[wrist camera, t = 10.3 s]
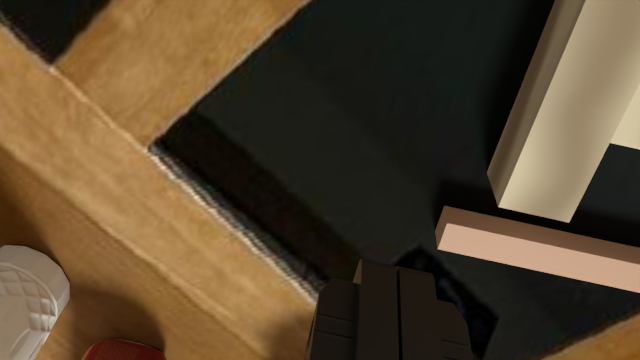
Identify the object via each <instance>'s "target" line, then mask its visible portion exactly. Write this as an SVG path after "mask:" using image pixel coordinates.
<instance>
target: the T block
mask: <svg viewBox="0 0 640 360" xmlns="http://www.w3.org/2000/svg"><path fill="white" fill-rule="evenodd" d="M609 143H613V144H618V145H622V146H627V147H631V148H636V149H640V0H555V2H554V4H553V7H552V9H551V12H550V14H549V17H548V19H547V22H546V24H545V27H544V30H543V32H542V35H541V37H540V40H539V42H538V45H537V47H536V50H535V52H534V55H533V57H532V60H531V62H530V65H529V67H528V70H527V72H526V75H525V77H524V80H523V82H522V85H521V88H520V90H519V93H518V95H517V98H516V100H515V103H514V105H513V108H512V110H511V113H510V115H509V118H508V120H507V123H506V125H505V128H504V130H503V133H502V135H501V138H500V140H499V143H498V146H497V148H496V151H495V153H494V156H493V158H492V161H491V163H490V166H489V168H488V171H487V174H488V177H489V180H490V183H491V187H492V190H493V193H494V196H495V199H496V202H497V205H498V207H500V208H505V209H509V210H514V211H519V212H523V213H528V214H532V215H537V216H541V217H546V218H550V219H555V220H559V221H564V222H568V223H569V222H570V220H571V218H572V216H573V214H574V212H575V210H576V208H577V206H578V204H579V202H580V200H581V198H582V196H583V194H584V192H585V190H586V188H587V186H588V184H589V182H590V180H591V179H592V177H593V175H594V173H595V171H596V169H597V167H598V165H599V163H600V161H601V159H602V157H603V155H604V153H605V151H606V149H607V147H608V145H609Z"/></svg>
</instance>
